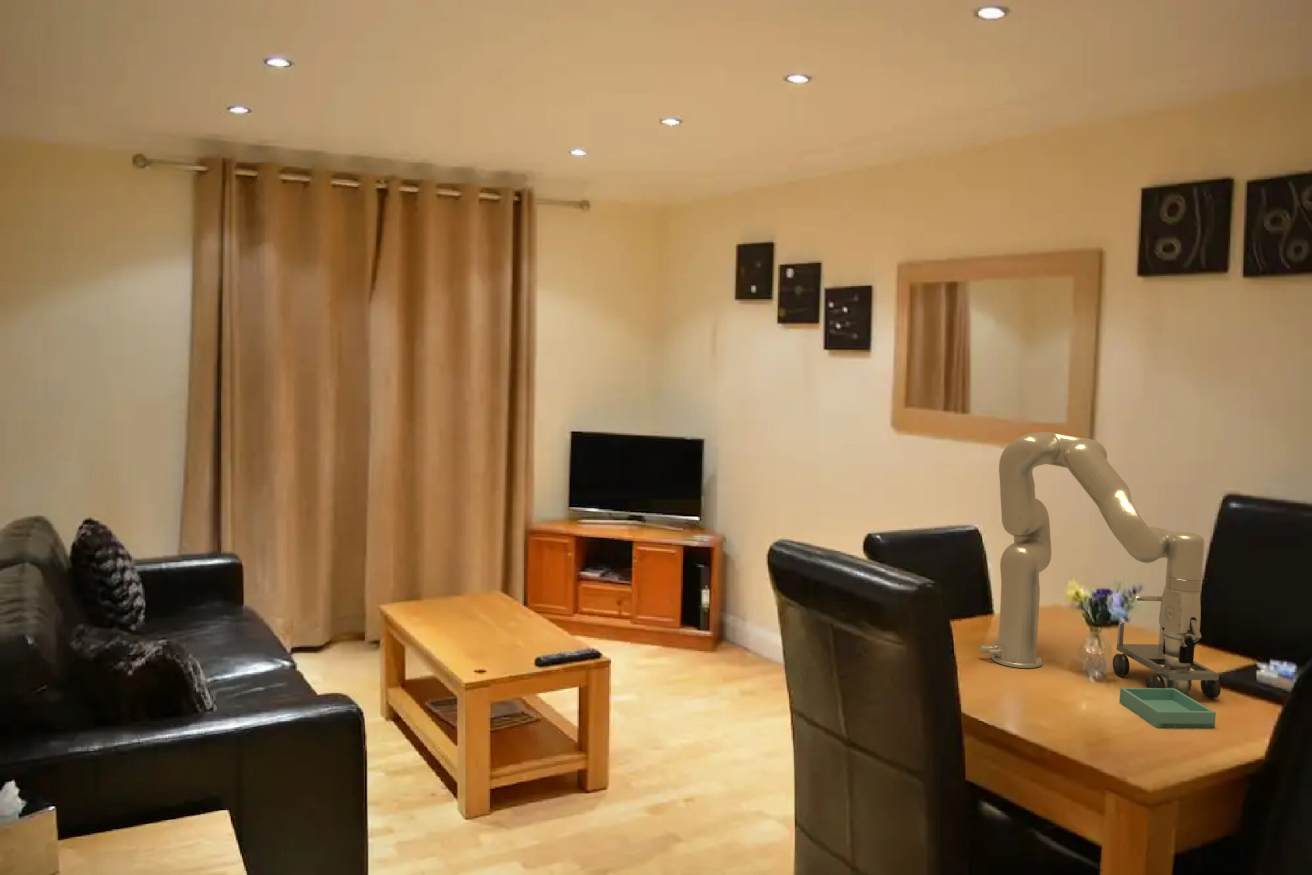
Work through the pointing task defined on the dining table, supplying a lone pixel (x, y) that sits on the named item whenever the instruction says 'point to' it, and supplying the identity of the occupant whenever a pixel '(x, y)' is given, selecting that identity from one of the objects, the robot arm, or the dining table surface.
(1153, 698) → the tray
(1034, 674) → the dining table surface
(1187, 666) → the plastic bottle
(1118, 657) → the trolley
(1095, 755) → the dining table surface
